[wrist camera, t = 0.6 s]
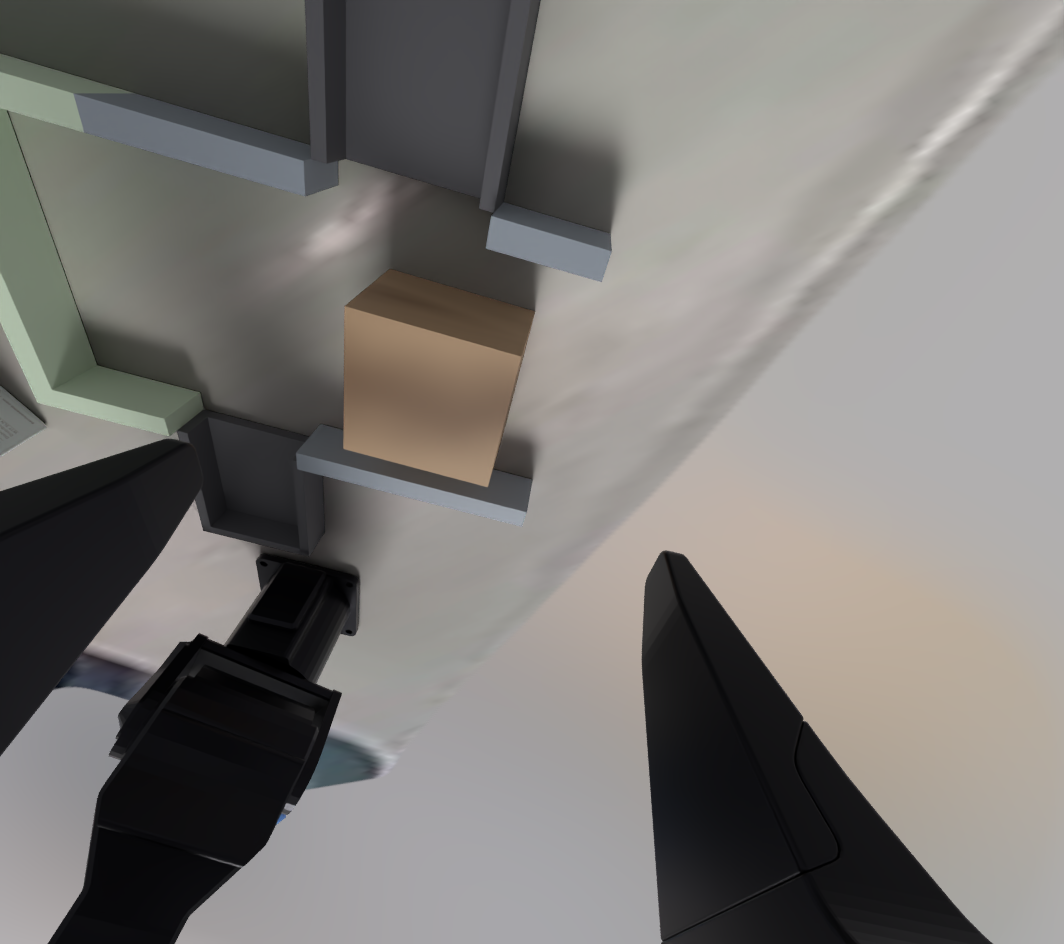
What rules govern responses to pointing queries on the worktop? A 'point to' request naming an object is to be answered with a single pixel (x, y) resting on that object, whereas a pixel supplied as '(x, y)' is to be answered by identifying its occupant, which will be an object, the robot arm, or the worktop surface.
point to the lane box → (335, 134)
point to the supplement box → (16, 423)
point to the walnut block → (430, 375)
